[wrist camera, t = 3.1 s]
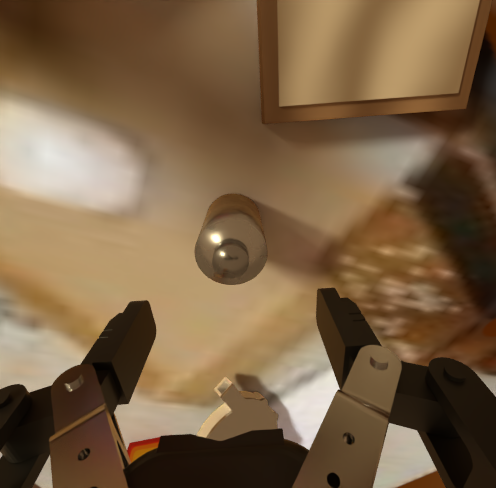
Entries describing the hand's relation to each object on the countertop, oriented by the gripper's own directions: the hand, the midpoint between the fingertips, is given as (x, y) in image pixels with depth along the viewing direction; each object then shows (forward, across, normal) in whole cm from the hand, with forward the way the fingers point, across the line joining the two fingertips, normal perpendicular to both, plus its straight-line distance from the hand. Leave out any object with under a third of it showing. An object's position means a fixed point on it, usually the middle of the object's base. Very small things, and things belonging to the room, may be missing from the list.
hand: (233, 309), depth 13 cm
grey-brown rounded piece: (+14, +3, +27) cm, 31 cm away
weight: (+13, 0, 0) cm, 13 cm away
